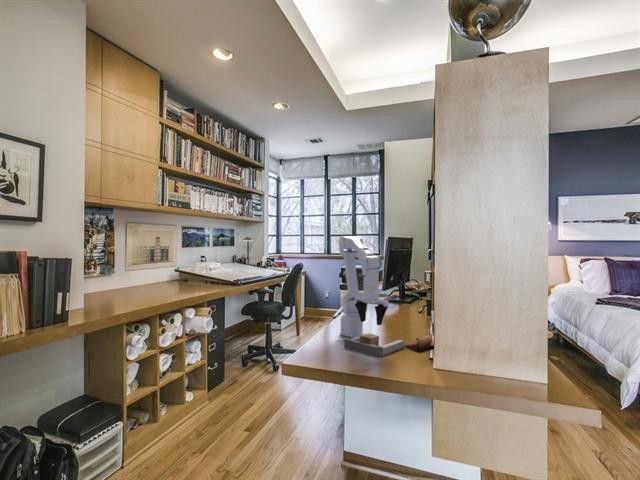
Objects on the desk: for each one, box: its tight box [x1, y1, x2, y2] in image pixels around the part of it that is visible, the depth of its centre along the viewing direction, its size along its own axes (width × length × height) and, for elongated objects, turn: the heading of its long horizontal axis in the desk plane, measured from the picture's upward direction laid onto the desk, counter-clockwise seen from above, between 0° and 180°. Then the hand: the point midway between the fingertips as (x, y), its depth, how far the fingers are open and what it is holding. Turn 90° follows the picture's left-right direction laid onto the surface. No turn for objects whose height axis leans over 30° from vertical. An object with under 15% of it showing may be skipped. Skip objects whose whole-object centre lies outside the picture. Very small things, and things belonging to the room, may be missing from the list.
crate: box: [360, 333, 380, 346], centre depth 119 cm, size 5×5×5 cm
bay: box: [343, 332, 405, 358], centre depth 121 cm, size 16×16×3 cm
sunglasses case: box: [404, 334, 433, 353], centre depth 123 cm, size 18×7×7 cm, turn 128°
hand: (370, 323), depth 120 cm, fingers open, 7 cm apart
